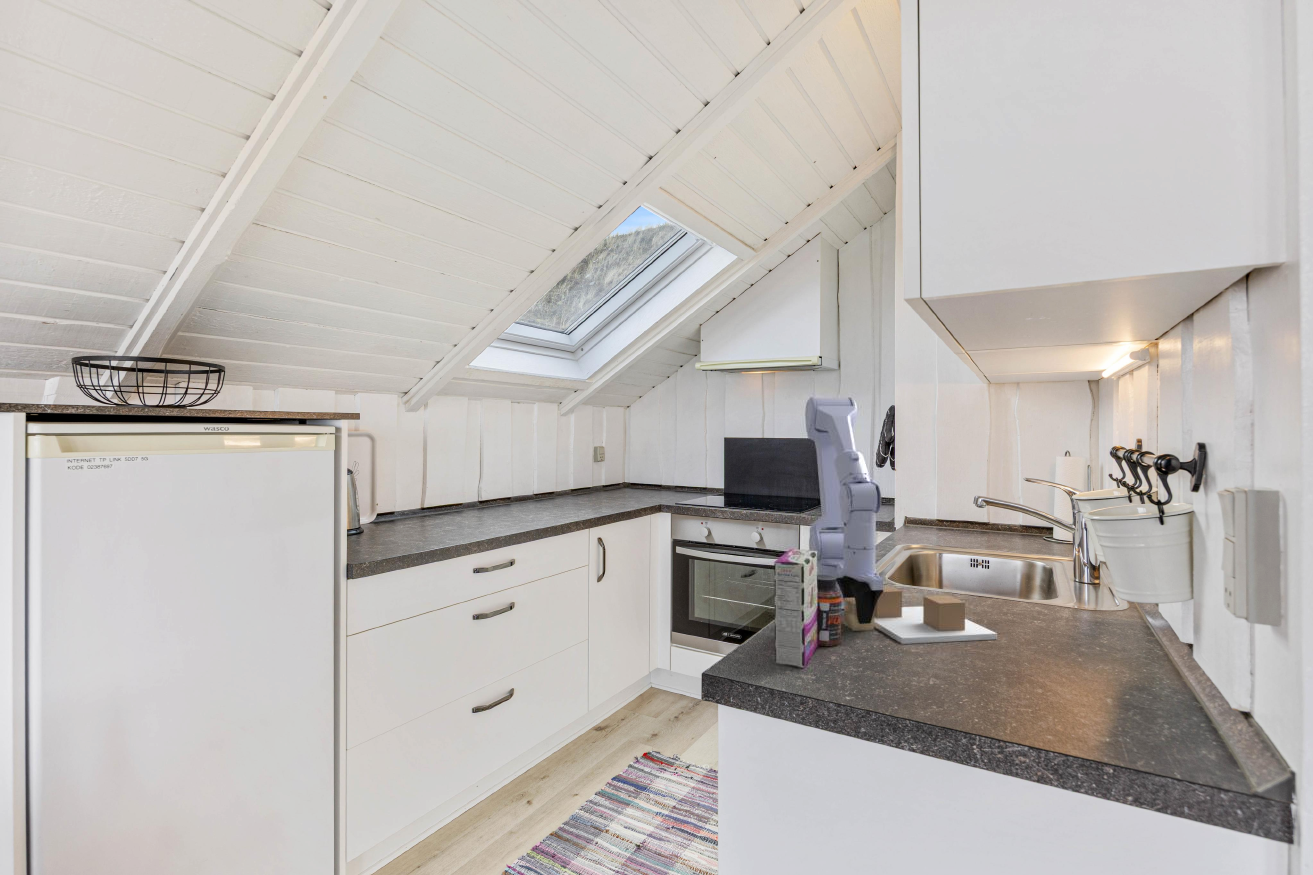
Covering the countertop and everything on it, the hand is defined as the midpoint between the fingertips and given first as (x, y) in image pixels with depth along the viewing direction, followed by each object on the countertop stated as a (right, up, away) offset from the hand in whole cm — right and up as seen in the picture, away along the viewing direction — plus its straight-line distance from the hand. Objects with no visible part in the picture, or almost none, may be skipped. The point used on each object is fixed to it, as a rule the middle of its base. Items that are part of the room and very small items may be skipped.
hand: (858, 619), depth 119 cm
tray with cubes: (+12, -1, +1) cm, 12 cm away
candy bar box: (-15, -2, -15) cm, 21 cm away
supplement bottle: (-9, -2, -8) cm, 12 cm away
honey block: (0, -1, 0) cm, 1 cm away
